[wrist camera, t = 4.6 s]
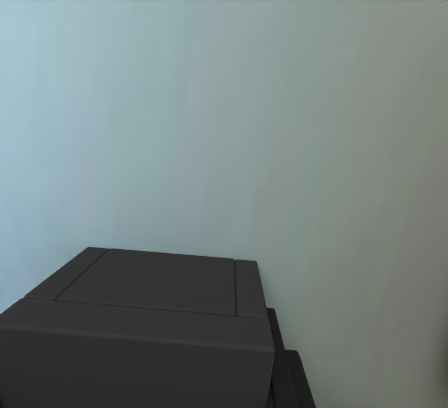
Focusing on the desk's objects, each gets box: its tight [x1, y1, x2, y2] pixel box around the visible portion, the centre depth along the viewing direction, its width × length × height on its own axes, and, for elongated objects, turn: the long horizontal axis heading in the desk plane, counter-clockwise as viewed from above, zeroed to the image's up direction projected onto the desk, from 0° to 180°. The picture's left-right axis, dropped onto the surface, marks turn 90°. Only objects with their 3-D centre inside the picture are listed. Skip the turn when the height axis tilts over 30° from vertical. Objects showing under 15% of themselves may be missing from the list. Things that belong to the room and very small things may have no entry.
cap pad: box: [0, 247, 275, 408], centre depth 8 cm, size 6×6×4 cm
